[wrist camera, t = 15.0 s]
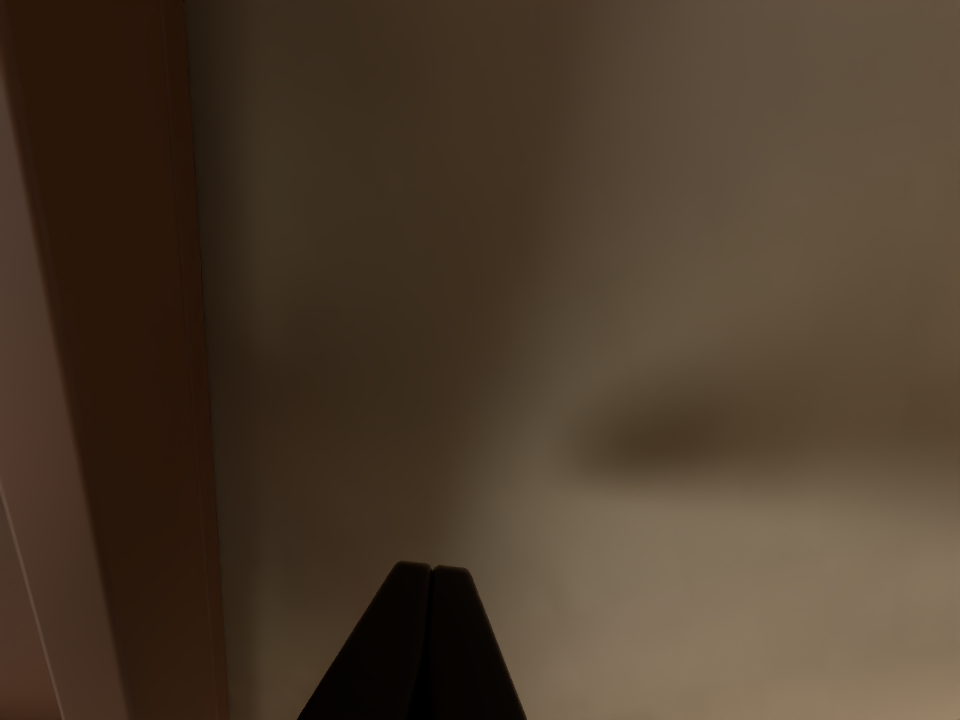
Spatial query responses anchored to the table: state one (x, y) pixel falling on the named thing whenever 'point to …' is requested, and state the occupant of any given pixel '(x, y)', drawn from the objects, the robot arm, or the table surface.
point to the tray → (103, 373)
